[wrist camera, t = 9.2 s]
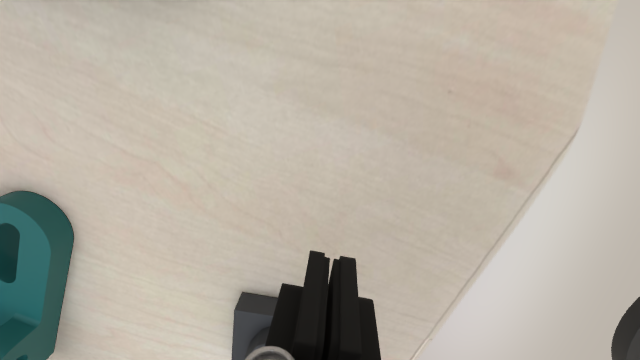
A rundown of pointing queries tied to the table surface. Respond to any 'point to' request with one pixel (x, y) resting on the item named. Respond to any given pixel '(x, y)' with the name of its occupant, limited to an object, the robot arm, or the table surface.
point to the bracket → (31, 274)
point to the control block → (251, 323)
